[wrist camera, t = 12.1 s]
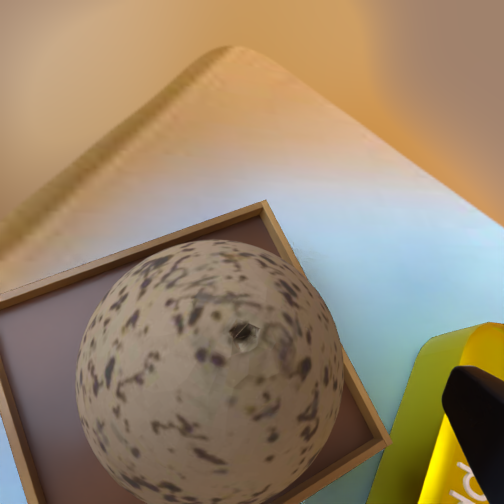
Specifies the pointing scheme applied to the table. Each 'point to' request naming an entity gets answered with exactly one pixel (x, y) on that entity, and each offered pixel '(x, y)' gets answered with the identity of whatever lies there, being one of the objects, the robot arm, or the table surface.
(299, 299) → the decorative egg
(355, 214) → the table surface
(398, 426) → the element tile
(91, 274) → the shallow square tray
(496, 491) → the robot arm
